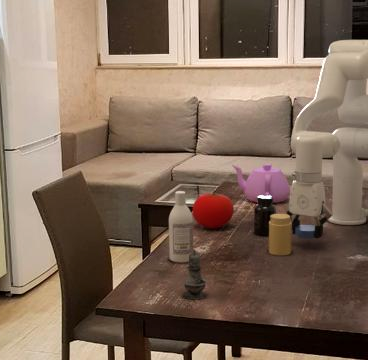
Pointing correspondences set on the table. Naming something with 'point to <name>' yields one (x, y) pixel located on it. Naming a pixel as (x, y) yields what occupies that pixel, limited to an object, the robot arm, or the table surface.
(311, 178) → the robot arm
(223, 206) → the tomato
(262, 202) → the supplement bottle
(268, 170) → the teapot
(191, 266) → the dark grey figurine
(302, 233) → the lid
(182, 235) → the bath foam
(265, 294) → the table surface
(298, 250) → the table surface
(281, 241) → the jar
